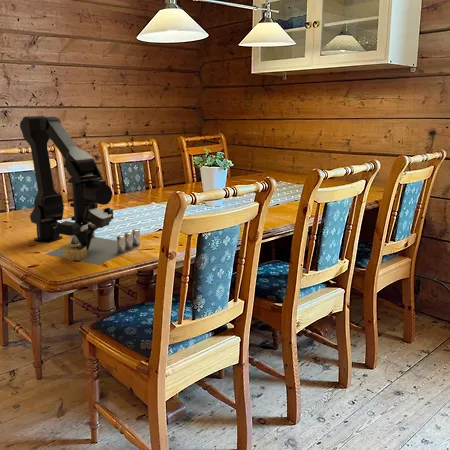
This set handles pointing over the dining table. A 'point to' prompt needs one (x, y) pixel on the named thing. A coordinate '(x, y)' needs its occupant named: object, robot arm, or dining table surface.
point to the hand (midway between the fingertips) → (86, 249)
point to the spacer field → (120, 240)
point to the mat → (95, 251)
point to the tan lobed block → (75, 252)
